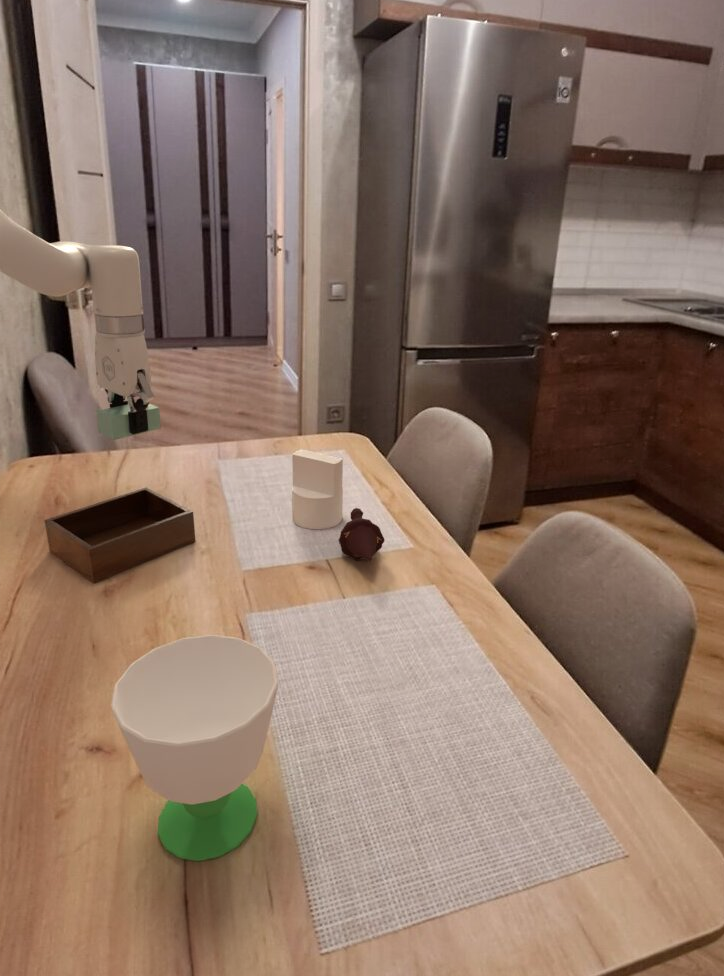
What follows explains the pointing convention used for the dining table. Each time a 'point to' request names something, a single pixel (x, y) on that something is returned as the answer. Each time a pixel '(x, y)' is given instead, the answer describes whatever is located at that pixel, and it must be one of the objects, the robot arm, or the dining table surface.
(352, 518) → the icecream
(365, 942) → the dining table surface
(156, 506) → the box
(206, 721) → the cup
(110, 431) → the block
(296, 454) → the base with upright slab
